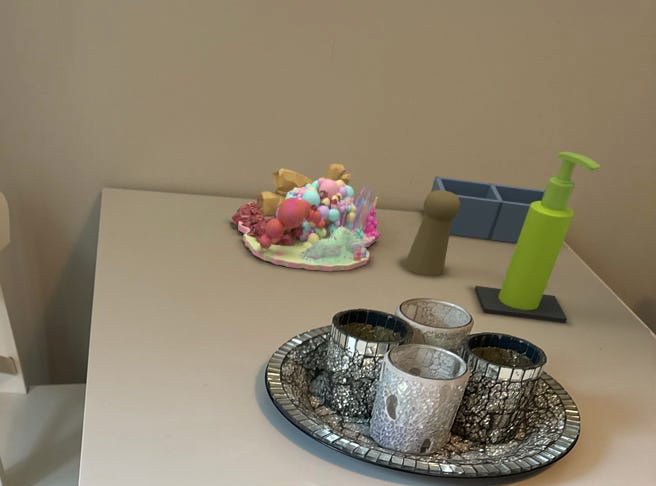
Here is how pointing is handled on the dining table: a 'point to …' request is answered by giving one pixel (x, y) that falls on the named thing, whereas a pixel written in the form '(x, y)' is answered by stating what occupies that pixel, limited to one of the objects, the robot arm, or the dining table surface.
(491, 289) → the mat
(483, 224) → the box
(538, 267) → the soap dispenser
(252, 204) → the candy landscape model
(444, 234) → the olive game pawn
